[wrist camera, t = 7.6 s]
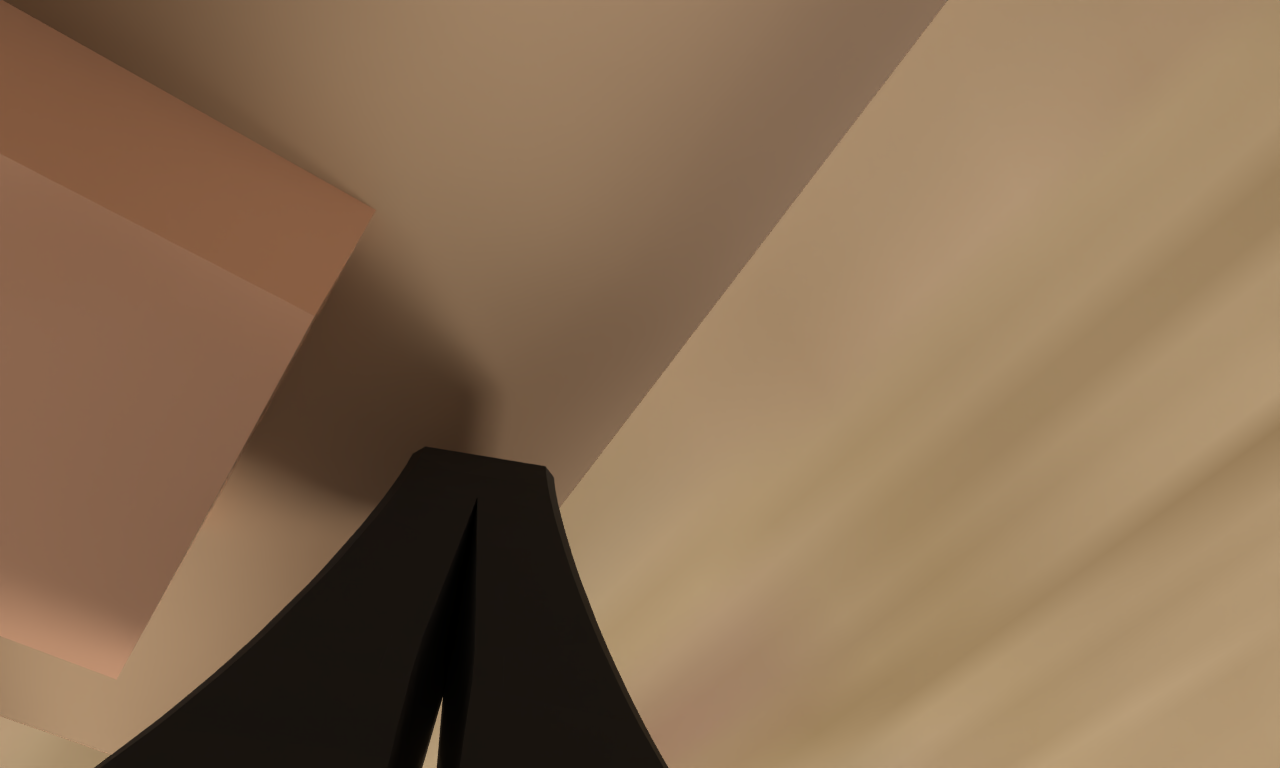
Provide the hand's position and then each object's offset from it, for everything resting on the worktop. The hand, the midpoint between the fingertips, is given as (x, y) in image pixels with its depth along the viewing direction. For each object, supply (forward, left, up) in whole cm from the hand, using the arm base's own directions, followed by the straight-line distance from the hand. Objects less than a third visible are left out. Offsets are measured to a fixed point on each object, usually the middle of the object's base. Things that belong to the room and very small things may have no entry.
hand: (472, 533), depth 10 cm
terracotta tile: (+5, 0, -1) cm, 5 cm away
